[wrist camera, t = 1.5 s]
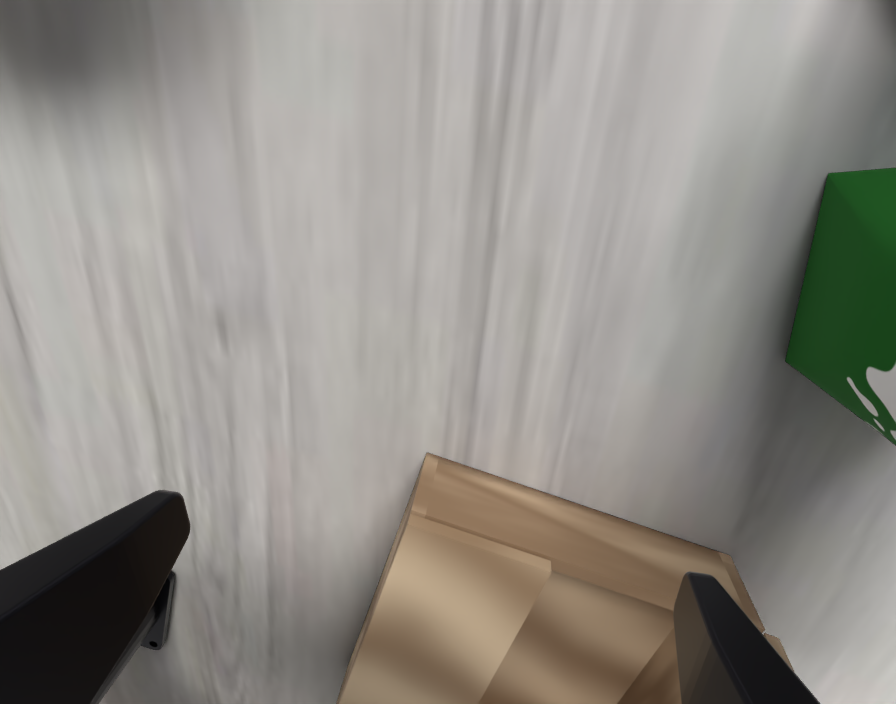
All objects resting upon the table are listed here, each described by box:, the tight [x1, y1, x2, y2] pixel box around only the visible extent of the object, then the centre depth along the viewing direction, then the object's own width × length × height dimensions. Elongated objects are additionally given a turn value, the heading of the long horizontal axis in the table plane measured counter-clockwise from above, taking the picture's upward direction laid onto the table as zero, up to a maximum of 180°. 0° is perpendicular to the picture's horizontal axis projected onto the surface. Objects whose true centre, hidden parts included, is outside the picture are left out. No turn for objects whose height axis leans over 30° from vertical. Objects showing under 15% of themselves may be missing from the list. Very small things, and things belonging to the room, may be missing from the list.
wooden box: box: [336, 453, 765, 704], centre depth 27 cm, size 16×15×4 cm
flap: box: [339, 514, 551, 704], centre depth 25 cm, size 16×6×1 cm, turn 162°
